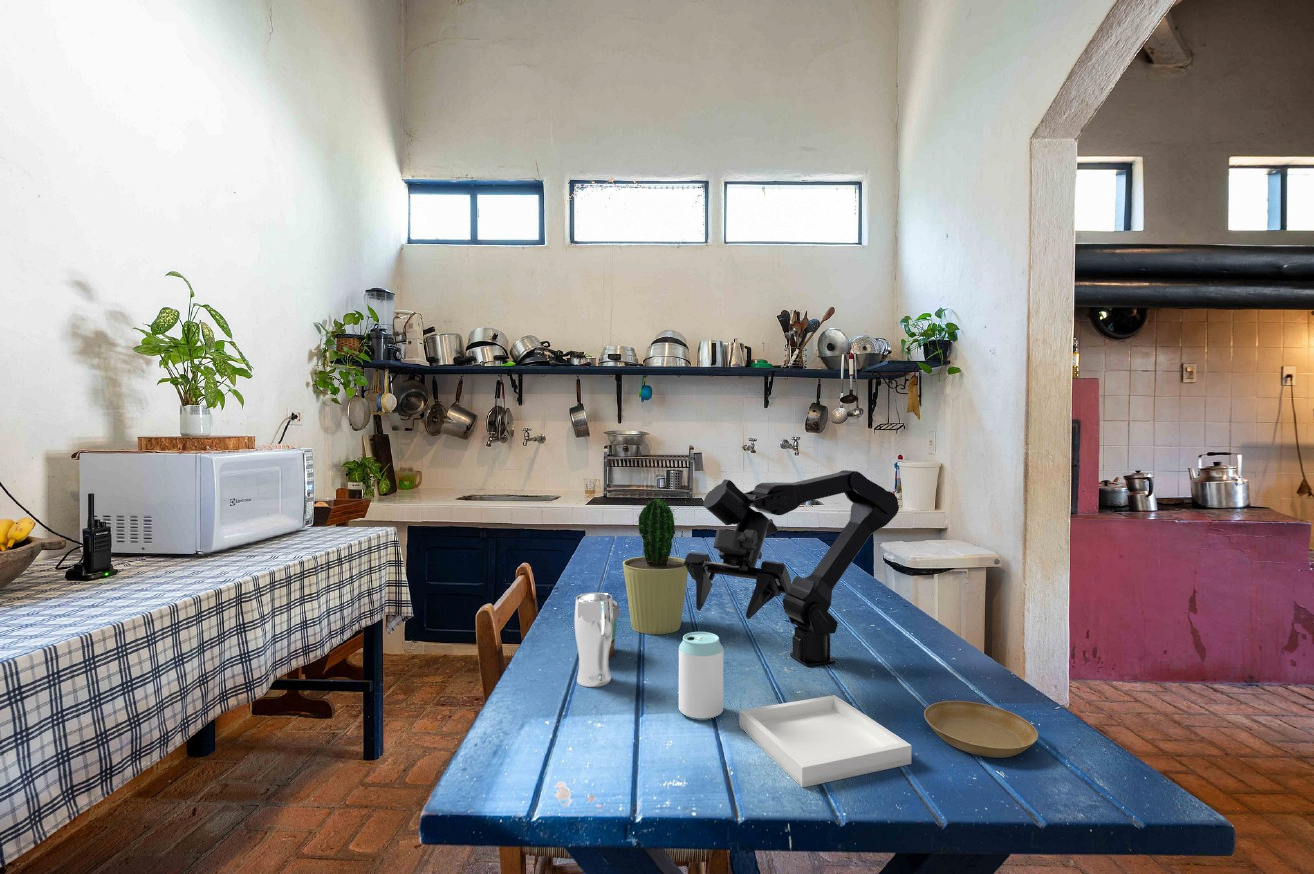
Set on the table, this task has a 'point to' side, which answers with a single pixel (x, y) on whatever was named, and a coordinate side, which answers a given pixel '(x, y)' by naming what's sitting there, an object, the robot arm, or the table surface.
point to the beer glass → (593, 637)
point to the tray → (823, 740)
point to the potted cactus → (656, 574)
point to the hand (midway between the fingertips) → (722, 613)
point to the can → (701, 675)
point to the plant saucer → (980, 728)
